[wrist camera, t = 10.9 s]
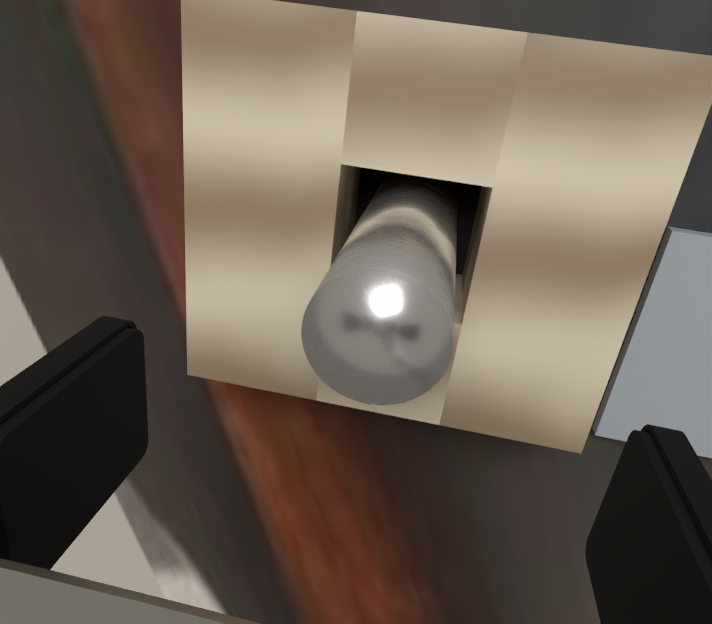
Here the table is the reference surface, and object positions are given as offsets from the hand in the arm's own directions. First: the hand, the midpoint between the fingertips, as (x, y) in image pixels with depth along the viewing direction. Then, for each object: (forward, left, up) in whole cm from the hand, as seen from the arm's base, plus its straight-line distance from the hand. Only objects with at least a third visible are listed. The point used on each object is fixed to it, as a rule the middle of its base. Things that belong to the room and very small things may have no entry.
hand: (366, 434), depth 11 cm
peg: (0, 0, -15) cm, 15 cm away
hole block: (0, 0, -15) cm, 15 cm away
